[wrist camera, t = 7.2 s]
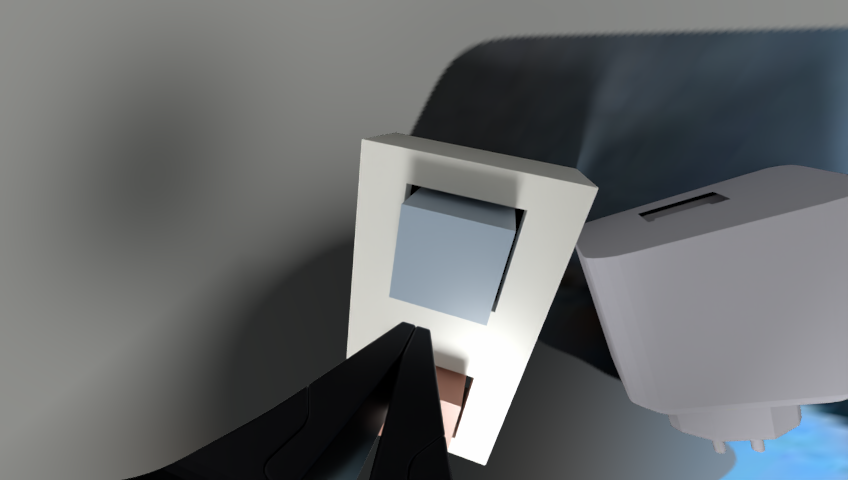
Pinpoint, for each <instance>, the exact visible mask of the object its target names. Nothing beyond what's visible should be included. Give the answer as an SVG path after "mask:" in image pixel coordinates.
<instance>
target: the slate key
mask: <svg viewBox="0 0 848 480" xmlns="http://www.w3.org/2000/svg"><path fill="white" fill-rule="evenodd" d="M515 233H516V222H515V208H514V207H510V206H505V205H501V204H496V203H492V202H488V201H483V200H479V199H474V198H470V197H466V196H461V195H457V194H452V193H448V192H443V191H439V190H435V189H430V188H426V187H421V188H420V189H418V190H417V191H416V192H415V193H414V194H412V195H411V196H410V197H409V198H408V199H407V200H405V201H404V202H403V203H402V204H401V211H400V218H399V226H398V233H397V241H396V248H395V256H394V263H393V271H392V278H391V286H390V293H389V297H391V298H394V299H398V300H401V301H404V302H408V303H411V304H415V305H418V306H421V307H425V308H428V309H431V310H435V311H438V312H442V313H445V314H448V315H452V316H455V317H459V318H462V319H465V320H469V321H472V322H476V323H479V324H482V325H486V326H487V323H488V319H489V316H490V313H491V310H492V307H493V303H494V300H495V297H496V294H497V291H498V287H499V284H500V281H501V278H502V274H503V271H504V268H505V265H506V262H507V258H508V255H509V252H510V249H511V246H512V242H513V239H514V236H515Z"/></svg>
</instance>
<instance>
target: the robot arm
mask: <svg viewBox="0 0 848 480" xmlns="http://www.w3.org/2000/svg"><path fill="white" fill-rule="evenodd" d="M383 424H384V425H383ZM382 426H383V429H382V433H381V436H380V440H379V444H378V448H377V452H376V456H375V459H374V463H373V467H372V471H371V475H370V479H369V480H453V479H452V474H451V469H450V462H449V456H448V450H447V443H446V437H445V430H444V423H443V416H442V409H441V402H440V395H439V388H438V381H437V374H436V367H435V360H434V353H433V346H432V339H431V332H430V330H429V329H427V328H424V327H420V326H417V327H416V326H415V325H414V324H410V323H407V322H401V323H399V324H398V325H396V326H395V327H393V328H392V329H390V330H389V331H388V332H386V333H385V334H383V335H382V336H380V337H379V338H377V339H376V340H374V341H373V342H371V343H370V344H368V345H367V346H365V347H364V348H362V349H361V350H359V351H358V352H356V353H355V354H353V355H352V356H350V357H349V358H348V359H346V360H345V361H343V362H342V363H340V364H339V365H337V366H336V367H334V368H333V369H331V370H330V371H328V372H327V373H325V374H324V375H323V376H321V377H319V378H318V379H316V380H315V381H313V382H312V383H311V384H309V386H308V387H307V386H306V387H304V388H303V389H301V390H300V391H298V392H297V393H295V394H294V395H293V396H291V397H289V398H288V399H286V400H285V401H283V402H282V403H280V404H278V405H277V406H275V407H274V408H272V409H271V410H269V411H267V412H265V413H263V414H262V415H260V416H258V417H257V418H255V419H253V420H251V421H249V422H248V423H246V424H244V425H242V426H240V427H239V428H237V429H235V430H233V431H231V432H230V433H228V434H226V435H224V436H223V437H220V438H219V439H217V440H215V441H213V442H211V443H210V444H208V445H206V446H204V447H202V448H200V449H198V450H197V451H195V452H193V453H191V454H189V455H188V456H186V457H184V458H182V459H180V460H178V461H176V462H174V463H172V464H170V465H167V466H165V467H163V468H161V469H158V470H155V471H153V472H150V473H147V474H144V475H140V476H137V477H133V478H128V479H124V480H356V479H357V477H358V475H359V473H360V471H361V469H362V467H363V465H364V463H365V461H366V459H367V457H368V454H369V453H370V450H371V448H372V446H373V444H374V442H375V440H376V438H377V436H378V434H379V432H380V430H381V428H382Z"/></svg>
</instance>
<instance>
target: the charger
mask: <svg viewBox="0 0 848 480" xmlns="http://www.w3.org/2000/svg"><path fill="white" fill-rule="evenodd" d="M710 192H715V193H717V195H714V196H710V197H707V198H703V199H700V200H697V201H693V202H690V203H686V204H683V205H679V206H676V207H673V208H669V209H666V210H662V211H659V212H655V213H652V214H649V215H645V216H642V217H641V216H640V215H638V214H639V213H642V212H646V211H649V210H652V209H656V208H659V207H663V206H666V205H669V204H673V203H676V202H680V201H683V200H686V199H690V198H693V197H696V196H700V195H703V194H707V193H710ZM575 247H576V250H577V253H578V256H579V259H580V262H581V265H582V268H583V271H584V274H585V277H586V280H587V283H588V286H589V289H590V292H591V295H592V299H593V302H594V305H595V308H596V311H597V314H598V317H599V320H600V323H601V326H602V329H603V332H604V335H605V338H606V341H607V344H608V347H609V350H610V353H611V356H612V359H613V361H614V364H615V366H616V368H617V371H618V373H619V376H620V378H621V380H622V383H623V385H624V388H625V390H626V392H627V395H628V397H629V399H630V400H631V401H632V402H633V403H635V404H637V405H639V406H642V407H645V408H647V409H650V410H652V411H655V412H658V413H662V414H668V417H669V420H670V424H671V426H672V427H674V428H676V429H677V430H679V431H681V432H683V433H687V434H690V435H694V436H698V437H701V438H705V439H709V440H712V443H713V447H714V450H715V451H716V452H718V453H721V454H722V453H725V452H726V448H725V444H724V442H725V441H746V440H750V441H751V446H752V449H753V450H755V451H757V452H763V451H765V447H764V441H763V440H767V439H776V438H778V437H780V436H782V435H783V434H785V433H787V432H788V431H790V430H792V429H794V428H795V427H797V426H799V425H800V421H801V418H802V416H801V409H800V405H804V404H817V403H830V402H837V401H842V400H845V399H848V175H847V174H842V173H836V172H831V171H826V170H821V169H815V168H810V167H805V166H799V165H783V166H776V167H770V168H766V169H762V170H759V171H756V172H752V173H749V174H745V175H742V176H739V177H735V178H732V179H729V180H725V181H722V182H719V183H715V184H712V185H709V186H706V187H702V188H699V189H696V190H692V191H689V192H686V193H682V194H679V195H676V196H672V197H669V198H666V199H663V200H659V201H656V202H653V203H649V204H646V205H643V206H639V207H636V208H633V209H630V210H626V211H623V212H620V213H616V214H613V215H610V216H606V217H603V218H600V219H597V220H593V221H590V222H587V223H584V225H583V228H582V230H581V233H580V235H579V238H578V240H577V242H576V245H575Z"/></svg>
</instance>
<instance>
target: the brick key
mask: <svg viewBox="0 0 848 480" xmlns="http://www.w3.org/2000/svg"><path fill="white" fill-rule="evenodd" d="M435 367H436V374H437V381H438V388H439V395H440V402H441V409H442V416H443V423H444V430H445V437H446V443H447V450H448V448H449V445H450V442H451V438H452V435H453V432H454V429H455V425H456V422H457V419H458V416H459V413H460V409H461V405H462V399H463V393H464V387H465V381H466V375H464V374H461V373H457V372H454V371H451V370H448V369H445V368H442V367H439V366H436V365H435ZM383 425H384V424H383ZM382 429H383V426H382V428H381V430H380V432H379V434H378V435H379V436H381V433H382Z"/></svg>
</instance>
